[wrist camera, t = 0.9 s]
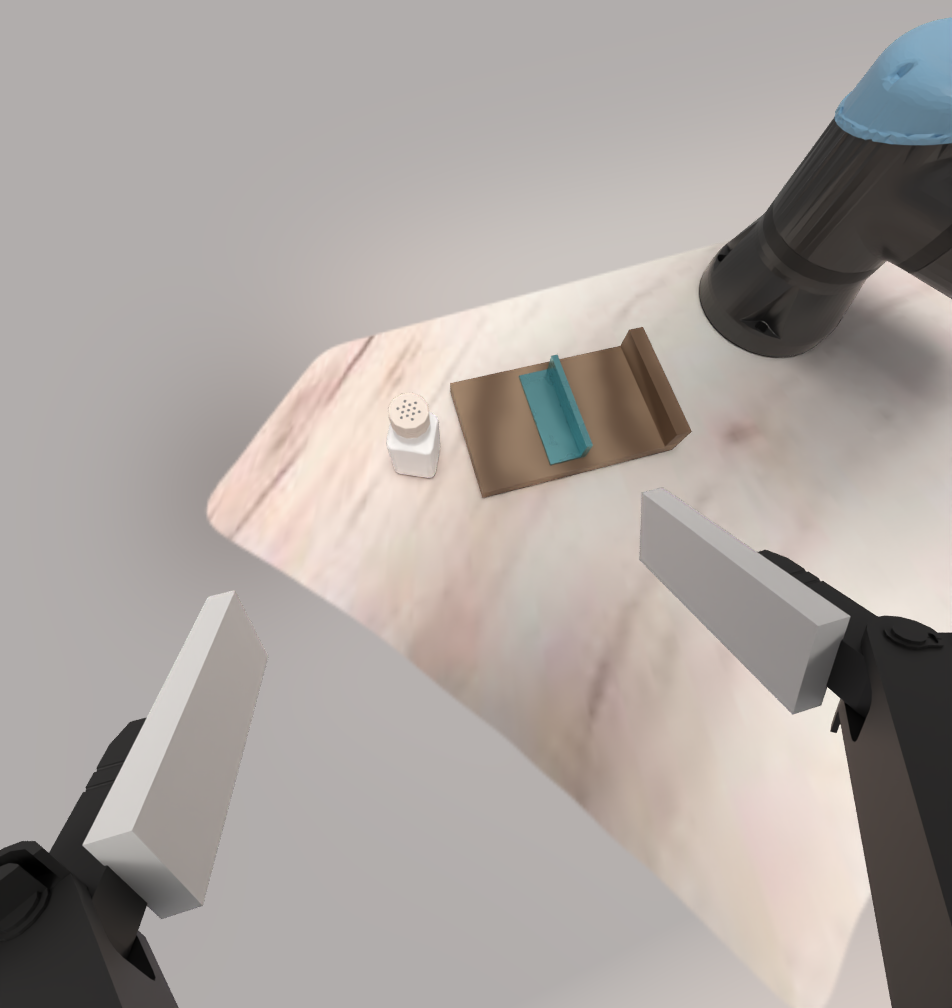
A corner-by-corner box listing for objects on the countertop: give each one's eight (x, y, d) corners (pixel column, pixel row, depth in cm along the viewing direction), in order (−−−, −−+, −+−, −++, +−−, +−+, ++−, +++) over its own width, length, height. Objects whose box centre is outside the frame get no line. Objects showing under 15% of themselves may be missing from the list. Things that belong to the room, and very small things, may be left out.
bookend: (552, 369, 46) (557, 354, 43) (585, 456, 43) (592, 445, 41) (518, 377, 45) (522, 362, 43) (550, 465, 42) (555, 454, 40)
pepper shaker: (441, 443, 44) (438, 391, 35) (434, 480, 43) (429, 437, 34) (401, 437, 44) (388, 384, 35) (393, 474, 43) (377, 429, 34)
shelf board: (628, 352, 49) (642, 326, 45) (671, 449, 45) (691, 431, 41) (450, 391, 46) (450, 368, 42) (482, 497, 43) (485, 483, 39)
